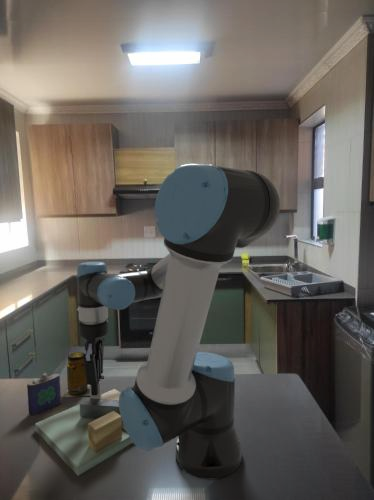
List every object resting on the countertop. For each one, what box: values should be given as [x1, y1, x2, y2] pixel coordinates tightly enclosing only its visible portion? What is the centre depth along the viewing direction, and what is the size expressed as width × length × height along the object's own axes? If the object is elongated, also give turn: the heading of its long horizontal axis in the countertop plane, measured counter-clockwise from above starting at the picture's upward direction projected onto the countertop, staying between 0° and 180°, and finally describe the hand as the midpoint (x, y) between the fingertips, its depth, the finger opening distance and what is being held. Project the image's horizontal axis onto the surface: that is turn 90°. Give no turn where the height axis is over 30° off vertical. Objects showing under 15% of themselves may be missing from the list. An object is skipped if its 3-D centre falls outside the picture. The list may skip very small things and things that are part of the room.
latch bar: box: [79, 397, 120, 418], centre depth 87 cm, size 15×4×4 cm, turn 83°
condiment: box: [63, 351, 90, 398], centre depth 104 cm, size 7×8×12 cm
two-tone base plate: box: [34, 388, 134, 477], centre depth 86 cm, size 22×24×8 cm
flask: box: [26, 372, 62, 418], centre depth 94 cm, size 9×3×11 cm, turn 138°
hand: (96, 403), depth 90 cm, fingers closed
